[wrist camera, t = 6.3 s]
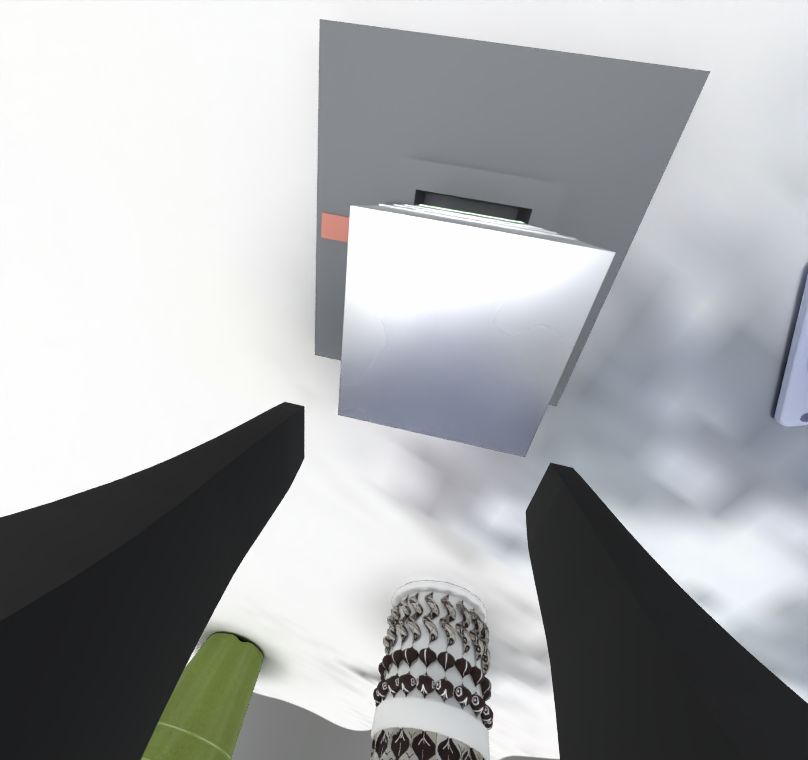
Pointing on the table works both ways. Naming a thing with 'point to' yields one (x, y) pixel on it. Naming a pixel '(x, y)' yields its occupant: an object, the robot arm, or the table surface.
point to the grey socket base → (487, 143)
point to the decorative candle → (433, 677)
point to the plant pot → (208, 703)
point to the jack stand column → (460, 321)
